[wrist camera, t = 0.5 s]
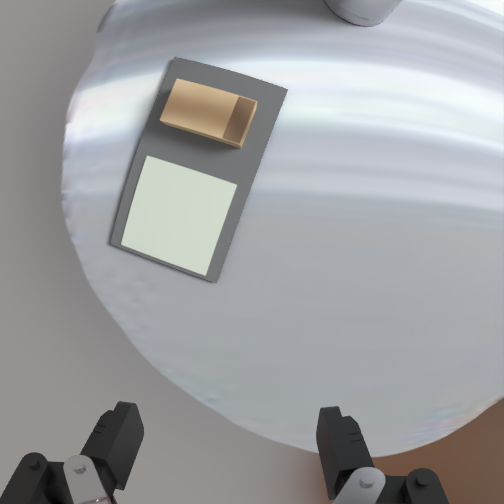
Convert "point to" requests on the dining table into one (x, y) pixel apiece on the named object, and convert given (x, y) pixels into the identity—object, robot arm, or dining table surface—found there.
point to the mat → (193, 178)
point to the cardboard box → (209, 112)
